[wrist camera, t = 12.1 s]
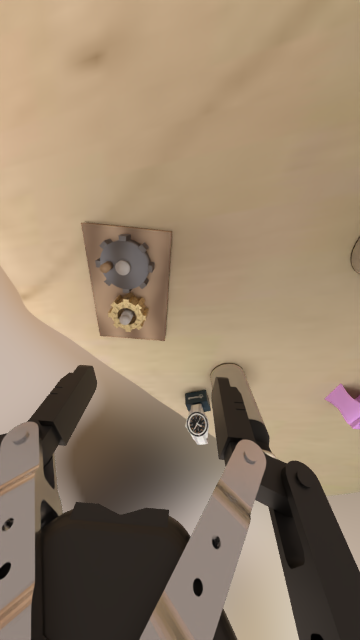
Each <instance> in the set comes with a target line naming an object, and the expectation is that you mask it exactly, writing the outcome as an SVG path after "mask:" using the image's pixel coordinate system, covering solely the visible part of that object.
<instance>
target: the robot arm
mask: <svg viewBox="0 0 360 640" xmlns="http://www.w3.org/2000/svg"><path fill="white" fill-rule="evenodd" d="M351 262H352V266H353V268H354V270H355V271H356V272H358V273H359V274H360V239H359V240H358V242H357V243H356V245H355V247H354V249H353V253H352V258H351ZM96 387H97V380H96V376H95V372H94V368H93V366H87V365H79V366H78V367H77V368H76V370H75V371H74V372H73V373H68V374H67V375H66V376H64V377H63V378H62V379H61V380H60V381H59V382H58V384H57V385H56V386H55V388H54V389H53V390H52V391H51V392H50V394H49V395H48V396H47V398H46V399H45V400H44V401H43V403H42V404H41V405H40V406H39V408H38V409H37V410H36V412H35V413H34V414H33V415H32V417H31V418H30V419H29V420H28V421H27V422H25V423H22V424H20V425H18V426H16V427H14V428H13V429H12V430H11V431H9V432H8V433H7V434H3V435H0V640H237V638H236V636H235V633H234V631H233V629H232V626H231V624H230V622H229V620H228V618H227V616H226V613H225V611H224V609H223V606H224V603H225V600H226V597H227V593H228V590H229V587H230V584H231V581H232V578H233V575H234V572H235V568H236V566H237V562H238V559H239V556H240V553H241V550H242V547H243V544H244V541H245V537H246V534H247V531H248V528H249V524H250V519H251V518H250V514H251V510H252V507H253V504H254V501H255V500H257V501H259V502H261V503H263V504H264V505H266V506H268V507H269V511H270V515H271V520H272V524H273V528H274V533H275V537H276V541H277V546H278V550H279V554H280V559H281V563H282V567H283V572H284V576H285V580H286V585H287V589H288V593H289V597H290V602H291V606H292V610H293V615H294V619H295V623H296V627H297V631H298V636H299V640H360V572H359V570H358V567H357V565H356V563H355V561H354V558H353V556H352V554H351V552H350V549H349V547H348V545H347V542H346V540H345V538H344V536H343V533H342V531H341V529H340V527H339V524H338V522H337V520H336V518H335V516H334V513H333V511H332V509H331V507H330V505H329V502H328V500H327V498H326V495H325V493H324V491H323V489H322V486H321V484H320V482H319V480H318V478H317V477H316V475H315V474H314V472H313V471H312V470H311V469H310V468H309V467H307V466H306V465H305V464H303V463H301V462H299V461H290V462H289V463H288V464H287V463H284V462H282V461H280V460H278V459H275V458H273V457H271V456H269V455H268V454H266V453H265V452H264V451H263V450H262V449H261V448H260V447H259V446H258V444H257V443H256V441H255V438H254V435H253V432H252V428H251V425H250V421H249V418H248V415H247V411H246V408H245V405H244V401H243V398H242V394H241V393H240V392H239V390H238V389H237V387H231V386H230V383H229V379H228V378H227V377H216V378H215V382H214V386H213V390H212V408H213V416H214V424H215V432H216V440H217V448H218V456H219V459H222V460H225V467H226V468H225V470H224V472H223V474H222V476H221V478H220V480H219V482H218V484H217V485H216V487H215V489H214V491H213V493H212V495H211V497H210V499H209V501H208V504H207V505H206V507H205V509H204V511H203V513H202V515H201V518H200V519H199V522H198V523H197V525H196V528H195V530H194V531H193V533H192V535H191V537H190V535H189V534H188V532H187V531H186V530H185V528H184V527H183V526H182V525H181V524H180V523H179V522H178V521H176V520H175V519H174V518H172V517H170V516H169V510H165V509H153V508H144V509H141V510H137V511H134V512H130V513H127V514H123V515H119V514H117V513H115V512H113V511H111V510H109V509H107V508H106V507H104V506H102V505H100V504H93V503H81V502H76V504H75V506H74V509H72V510H70V511H67V512H65V513H63V510H62V504H61V500H60V496H59V493H58V485H57V474H56V462H55V453H54V452H55V450H56V448H57V446H58V445H64V446H66V445H67V443H68V441H69V439H70V437H71V435H72V433H73V431H74V429H75V428H76V426H77V424H78V422H79V420H80V418H81V416H82V415H83V413H84V411H85V409H86V407H87V405H88V403H89V402H90V400H91V398H92V396H93V394H94V392H95V390H96Z"/></svg>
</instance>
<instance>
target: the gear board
mask: <svg viewBox="0 0 360 640" xmlns="http://www.w3.org/2000/svg"><path fill="white" fill-rule="evenodd" d="M81 225H82V231H83V237H84V243H85V249H86V255H87V261H88V267H89V273H90V278H91V284H92V290H93V296H94V302H95V308H96V314H97V320H98V326H99V332H100V336H109V337H122V338H135V339H147V340H160V341H165V334H166V318H167V302H168V285H169V269H170V253H171V237H172V231H163V230H153V229H143V228H134V227H124V226H115V225H105V224H95V223H81ZM130 292H131V293H133V296H136V297H138V298H141V297H143V298H144V299H145V302H144V305H145V306H146V308H149V313H148V315H147V318H146V320H145V321H144V324H143V327H142V328H141V329H139V330H138V329H137V328H135V329H132V330H131V332H126V331H125V329H123V328H121V327H118V328H116V327H115V326H114V325H113V324H114V321H113V320H112V318H111V317H108V312H109V310H110V309H111V308H112V306H111V304H112V303H113V301H114V300H115V299H116V298H117V297H118V296H119V295H121V296H122V297H123V296H126V294H127V293H130ZM133 316H136V314H135V312H134V311H133V310H131V309H129V308H123V313H122V314H121V316H120V318H119V321H120V323H121V324H122V325H128V324H129V323H130V321H131V319H132V317H133Z"/></svg>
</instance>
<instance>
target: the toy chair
mask: <svg viewBox="0 0 360 640" xmlns="http://www.w3.org/2000/svg"><path fill="white" fill-rule="evenodd" d="M325 400H327V401H329V402H330V403H332V404H333V405H334V406H336V407H337V408H338V409H339V411H340V412H341V414H342V415H343V417H344V419H345V421H346V422H347V423H348V424H350V426H351V427H352V428H354V429H360V395H359V396H358V397H357V398H356V399H353V398H352V397H351V396H350V395H349V394H348V393H347V391H346V390H345V388H344V387H343V385H342V384H339V385H338V386H337V387H336V388H335V389H334V390H333V391H332V392H331V393H330V394H329V395H328V396H327V397H326V398H325Z"/></svg>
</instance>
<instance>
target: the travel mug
mask: <svg viewBox="0 0 360 640" xmlns="http://www.w3.org/2000/svg"><path fill="white" fill-rule="evenodd" d="M216 377H227V378H228V379H229V383H230V386H231V387H237V389H238V390H239V392H240V393H241V394H242V398H243V401H244V405H245V408H246V411H247V415H248V418H249V421H250V425H251V428H252V432H253V435H254V438H255V441H256V443H257V444H258V446H259V447H260V448H261V449H262V450H263V451H264V452H265V453H266V454H268V455H269V456H271V457H273V458H275V459H276V457H275V455H274V454H273V453H272V452H271V450H270V448H269V435H268V432H267V430H266V427H265V424H264V422H263V419H262V417H261V414H260V412H259V409H258V407H257V404H256V402H255V399H254V397H253V394H252V392H251V389H250V387H249V384H248V382H247V379H246V377H245V374H244V372H243V370H242V368H241V367H239V366H238V365H235V364H224V365H220V366H218V367H217V368H215V369H214V370H213V371H212V373H211V383H212V388H213V386H214V382H215V378H216Z"/></svg>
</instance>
